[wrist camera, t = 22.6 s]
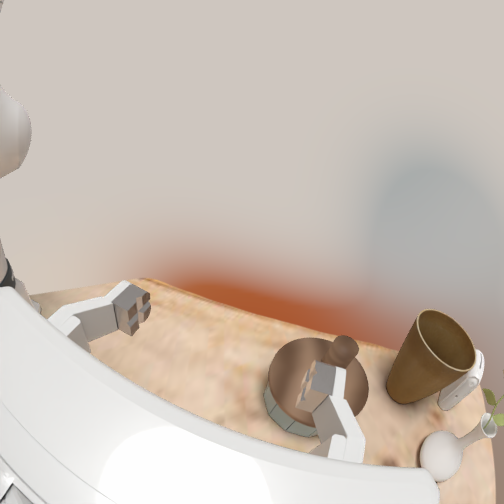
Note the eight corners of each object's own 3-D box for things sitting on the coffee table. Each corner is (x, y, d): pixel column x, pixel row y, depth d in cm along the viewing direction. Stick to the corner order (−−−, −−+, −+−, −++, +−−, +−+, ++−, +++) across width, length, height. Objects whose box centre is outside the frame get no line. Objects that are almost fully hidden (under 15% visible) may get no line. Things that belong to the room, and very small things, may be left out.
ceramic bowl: (253, 420, 35) (263, 405, 32) (277, 356, 47) (286, 336, 44) (336, 444, 33) (355, 431, 30) (346, 378, 45) (361, 360, 42)
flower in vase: (458, 475, 25) (560, 403, 12) (418, 491, 24) (540, 420, 11) (446, 424, 36) (532, 343, 23) (408, 432, 35) (507, 344, 22)
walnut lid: (261, 420, 30) (283, 390, 25) (273, 333, 44) (290, 292, 39) (368, 430, 30) (406, 401, 25) (359, 350, 44) (384, 314, 39)
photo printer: (447, 414, 38) (486, 381, 31) (435, 405, 40) (473, 370, 34) (455, 384, 45) (488, 351, 38) (444, 376, 47) (476, 341, 41)
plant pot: (427, 424, 36) (483, 378, 28) (367, 410, 39) (421, 358, 31) (425, 370, 48) (467, 321, 40) (373, 352, 51) (413, 298, 43)
